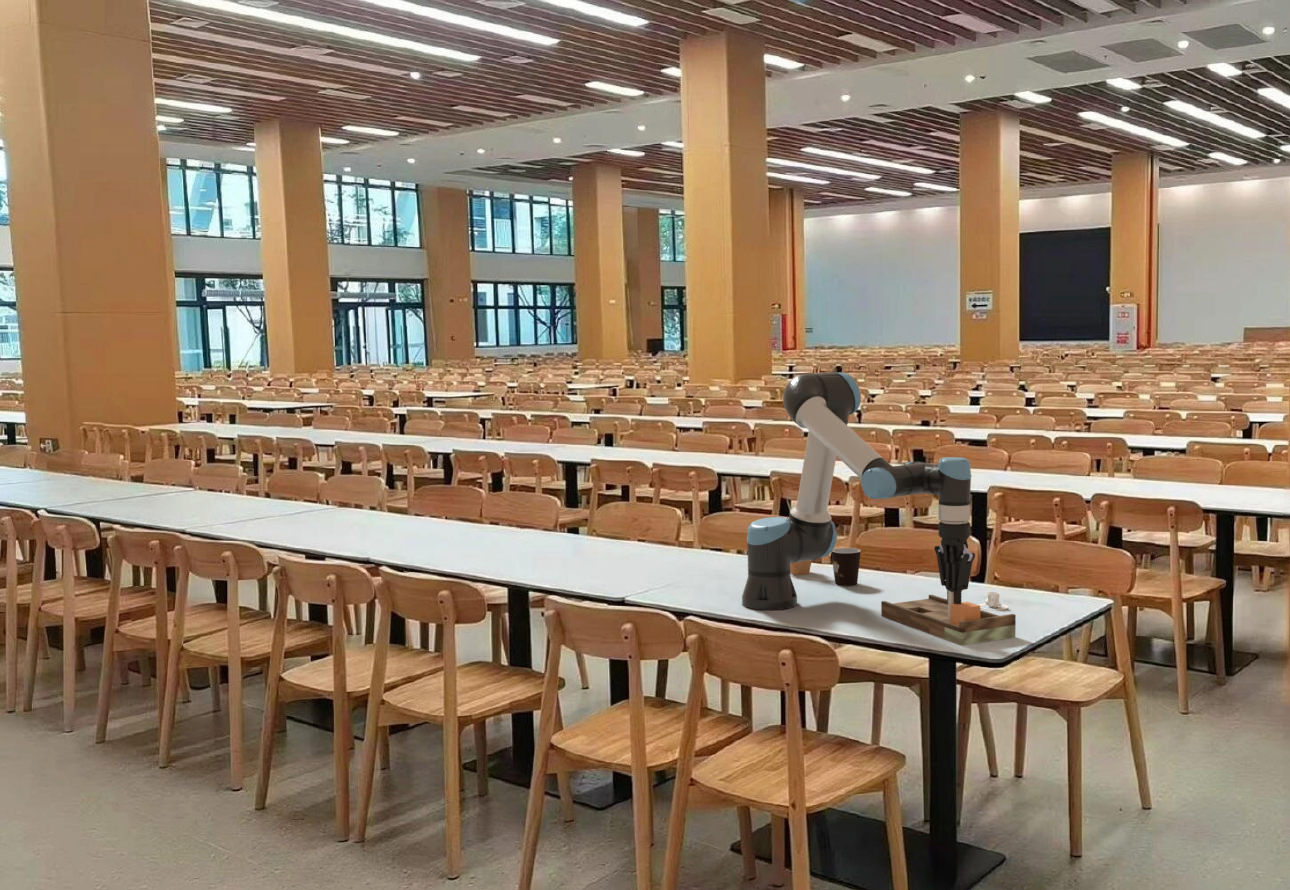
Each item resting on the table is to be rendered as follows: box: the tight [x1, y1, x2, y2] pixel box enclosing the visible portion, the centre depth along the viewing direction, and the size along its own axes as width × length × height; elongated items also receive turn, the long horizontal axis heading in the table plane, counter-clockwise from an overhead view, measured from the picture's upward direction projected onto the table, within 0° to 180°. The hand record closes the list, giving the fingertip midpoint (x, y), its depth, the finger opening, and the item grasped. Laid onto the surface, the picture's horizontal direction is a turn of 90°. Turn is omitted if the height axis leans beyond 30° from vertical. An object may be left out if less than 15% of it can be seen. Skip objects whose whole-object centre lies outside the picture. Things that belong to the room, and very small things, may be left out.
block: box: [950, 601, 981, 626], centre depth 295 cm, size 5×5×5 cm
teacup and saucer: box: [978, 591, 1009, 611], centre depth 326 cm, size 9×8×4 cm
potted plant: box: [786, 494, 813, 576], centre depth 375 cm, size 10×10×25 cm
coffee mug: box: [829, 547, 862, 587], centre depth 360 cm, size 12×9×10 cm
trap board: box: [880, 594, 1017, 646], centre depth 306 cm, size 16×33×6 cm, turn 24°
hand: (954, 616), depth 298 cm, fingers closed
